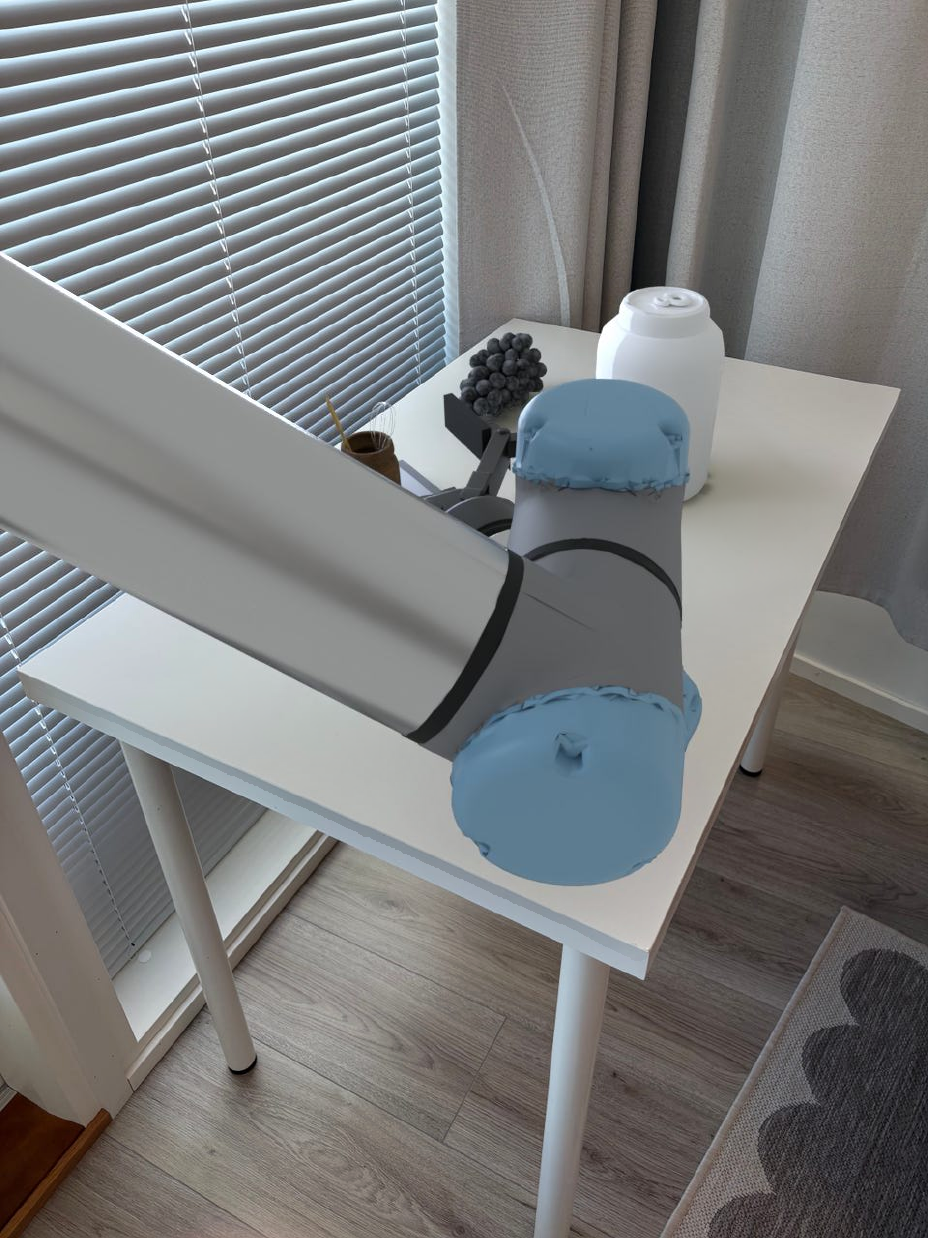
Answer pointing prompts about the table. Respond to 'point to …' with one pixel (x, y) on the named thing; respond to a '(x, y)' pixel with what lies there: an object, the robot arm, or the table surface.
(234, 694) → the table surface
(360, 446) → the utensil holder
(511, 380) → the fruit
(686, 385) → the can
